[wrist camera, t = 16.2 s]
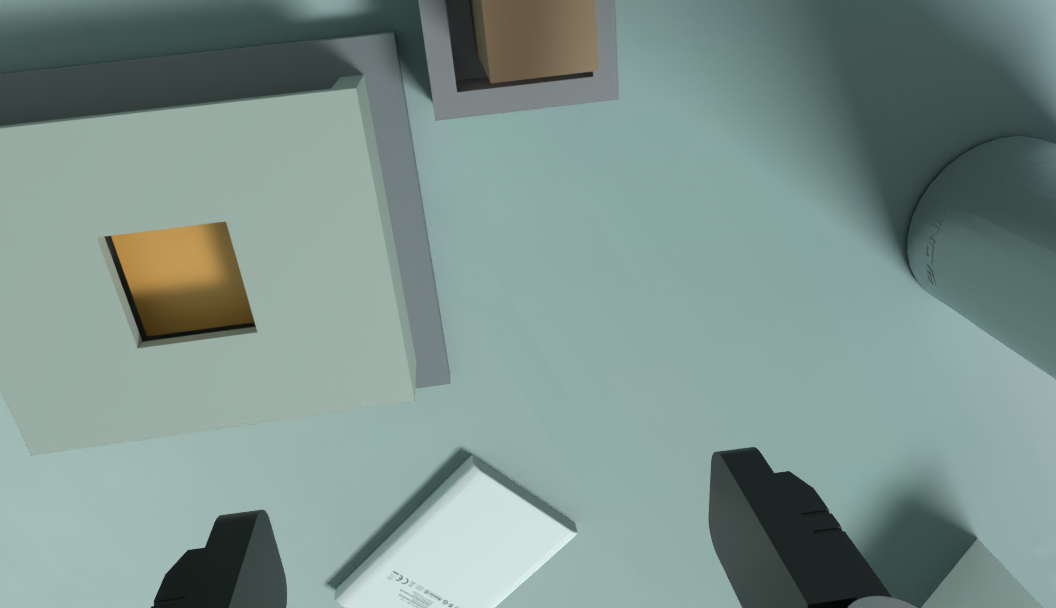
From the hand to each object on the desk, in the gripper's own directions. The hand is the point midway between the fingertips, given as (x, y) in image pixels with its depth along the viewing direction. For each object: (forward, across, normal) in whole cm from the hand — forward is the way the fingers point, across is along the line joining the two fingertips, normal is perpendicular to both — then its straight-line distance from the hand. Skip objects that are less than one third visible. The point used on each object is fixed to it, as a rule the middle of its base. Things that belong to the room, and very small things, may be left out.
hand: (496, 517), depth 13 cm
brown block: (+23, -3, -7) cm, 24 cm away
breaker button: (+22, +12, +2) cm, 25 cm away
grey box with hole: (+23, +12, +2) cm, 26 cm away
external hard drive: (+24, +3, +23) cm, 33 cm away
